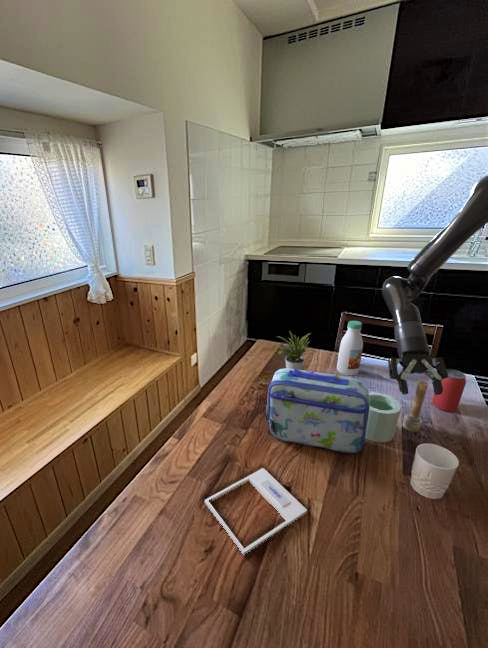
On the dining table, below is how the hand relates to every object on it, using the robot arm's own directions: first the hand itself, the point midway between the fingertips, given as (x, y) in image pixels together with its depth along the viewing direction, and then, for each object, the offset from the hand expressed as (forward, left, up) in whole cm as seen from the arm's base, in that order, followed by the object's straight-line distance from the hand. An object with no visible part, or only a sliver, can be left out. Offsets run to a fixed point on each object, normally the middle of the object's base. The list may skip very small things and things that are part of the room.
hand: (422, 394), depth 93 cm
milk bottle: (+25, -23, -12) cm, 36 cm away
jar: (+8, +7, -12) cm, 16 cm away
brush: (0, -1, -12) cm, 12 cm away
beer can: (-6, -18, -12) cm, 22 cm away
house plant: (+41, -11, -12) cm, 45 cm away
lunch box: (+21, +21, -12) cm, 33 cm away
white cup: (-7, +21, -12) cm, 25 cm away
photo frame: (+22, +51, -12) cm, 57 cm away
